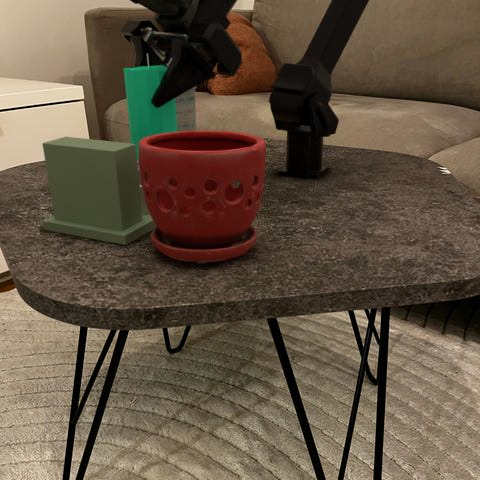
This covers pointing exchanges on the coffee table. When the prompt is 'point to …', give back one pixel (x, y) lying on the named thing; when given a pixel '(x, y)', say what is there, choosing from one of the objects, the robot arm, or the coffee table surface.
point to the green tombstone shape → (96, 190)
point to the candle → (147, 104)
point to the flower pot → (202, 192)
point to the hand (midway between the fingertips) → (141, 102)
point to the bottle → (186, 110)
